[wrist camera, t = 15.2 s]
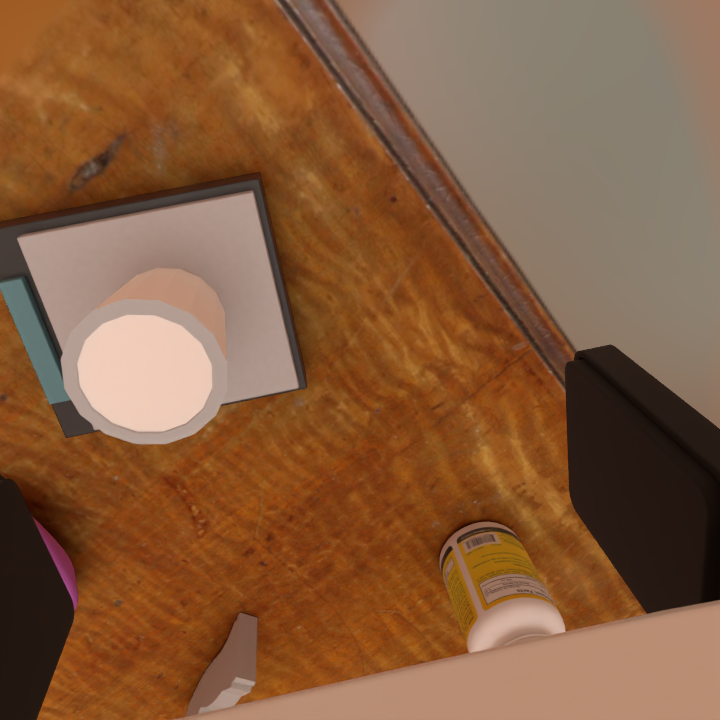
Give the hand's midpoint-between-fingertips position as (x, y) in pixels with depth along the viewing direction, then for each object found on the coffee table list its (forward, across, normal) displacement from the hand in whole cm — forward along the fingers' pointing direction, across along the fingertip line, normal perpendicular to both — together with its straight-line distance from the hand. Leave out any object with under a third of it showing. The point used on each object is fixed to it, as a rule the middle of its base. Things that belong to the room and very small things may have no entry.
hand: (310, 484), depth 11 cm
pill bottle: (+26, -8, +27) cm, 39 cm away
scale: (+26, +8, +4) cm, 28 cm away
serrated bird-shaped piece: (+26, +12, +32) cm, 43 cm away
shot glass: (+23, +7, +4) cm, 25 cm away
